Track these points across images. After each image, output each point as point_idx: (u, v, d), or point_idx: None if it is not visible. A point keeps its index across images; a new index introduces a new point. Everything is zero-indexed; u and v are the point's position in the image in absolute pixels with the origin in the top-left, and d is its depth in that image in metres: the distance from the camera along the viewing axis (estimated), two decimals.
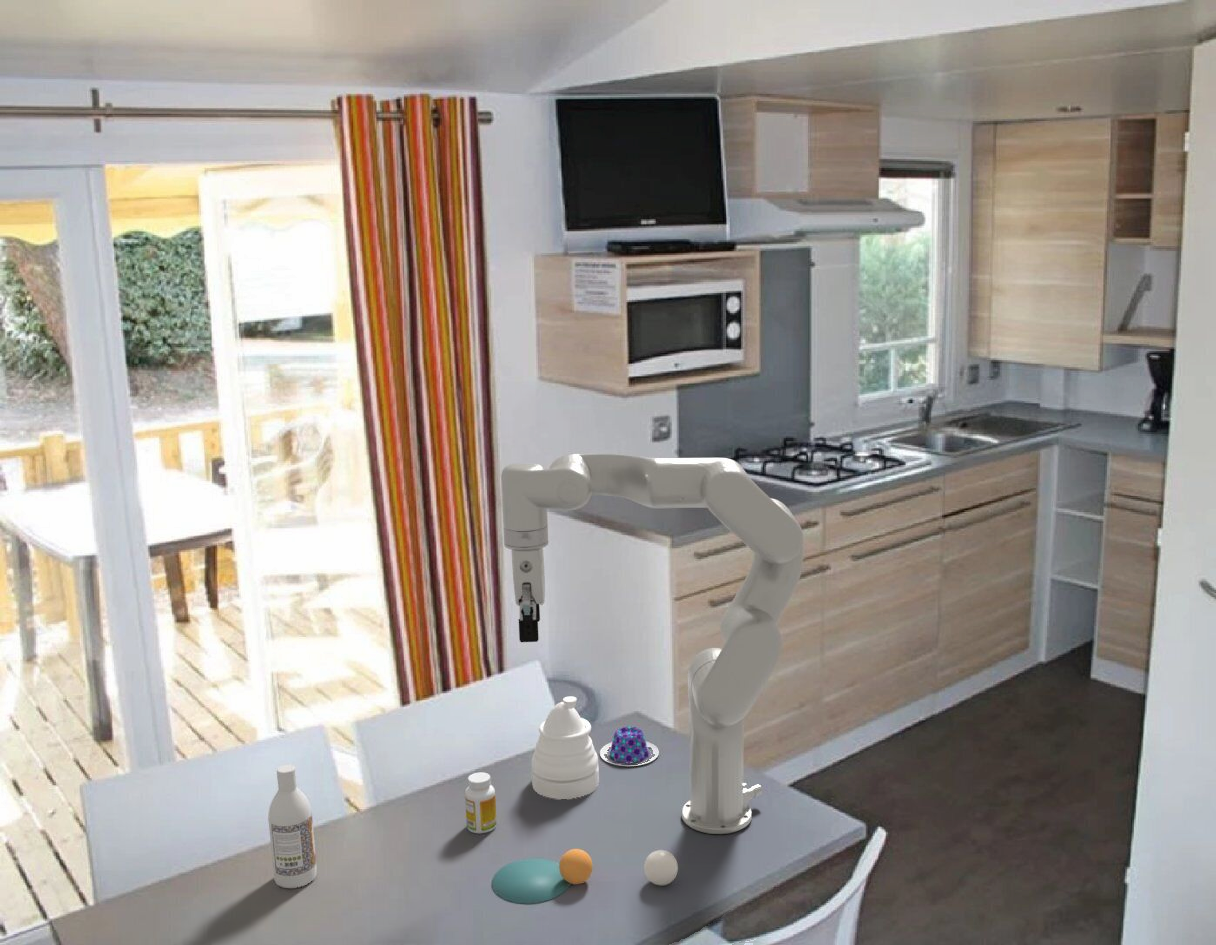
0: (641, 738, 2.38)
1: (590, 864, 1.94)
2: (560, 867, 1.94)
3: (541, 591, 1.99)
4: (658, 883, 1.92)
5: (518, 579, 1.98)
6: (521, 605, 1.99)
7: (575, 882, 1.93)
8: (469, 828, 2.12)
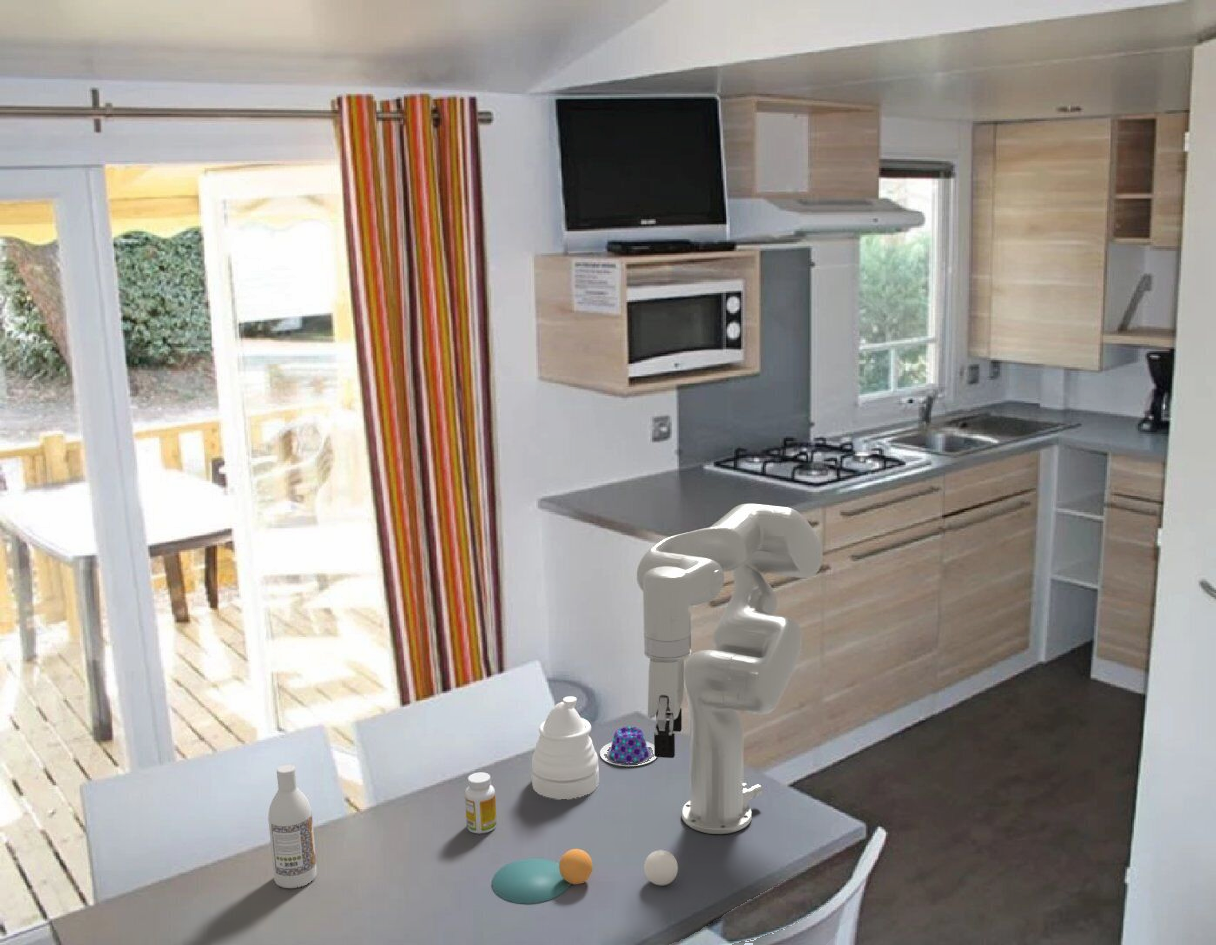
0: (641, 738, 2.38)
1: (590, 864, 1.94)
2: (560, 867, 1.94)
3: None
4: (658, 883, 1.92)
5: None
6: None
7: (575, 882, 1.93)
8: (469, 828, 2.12)
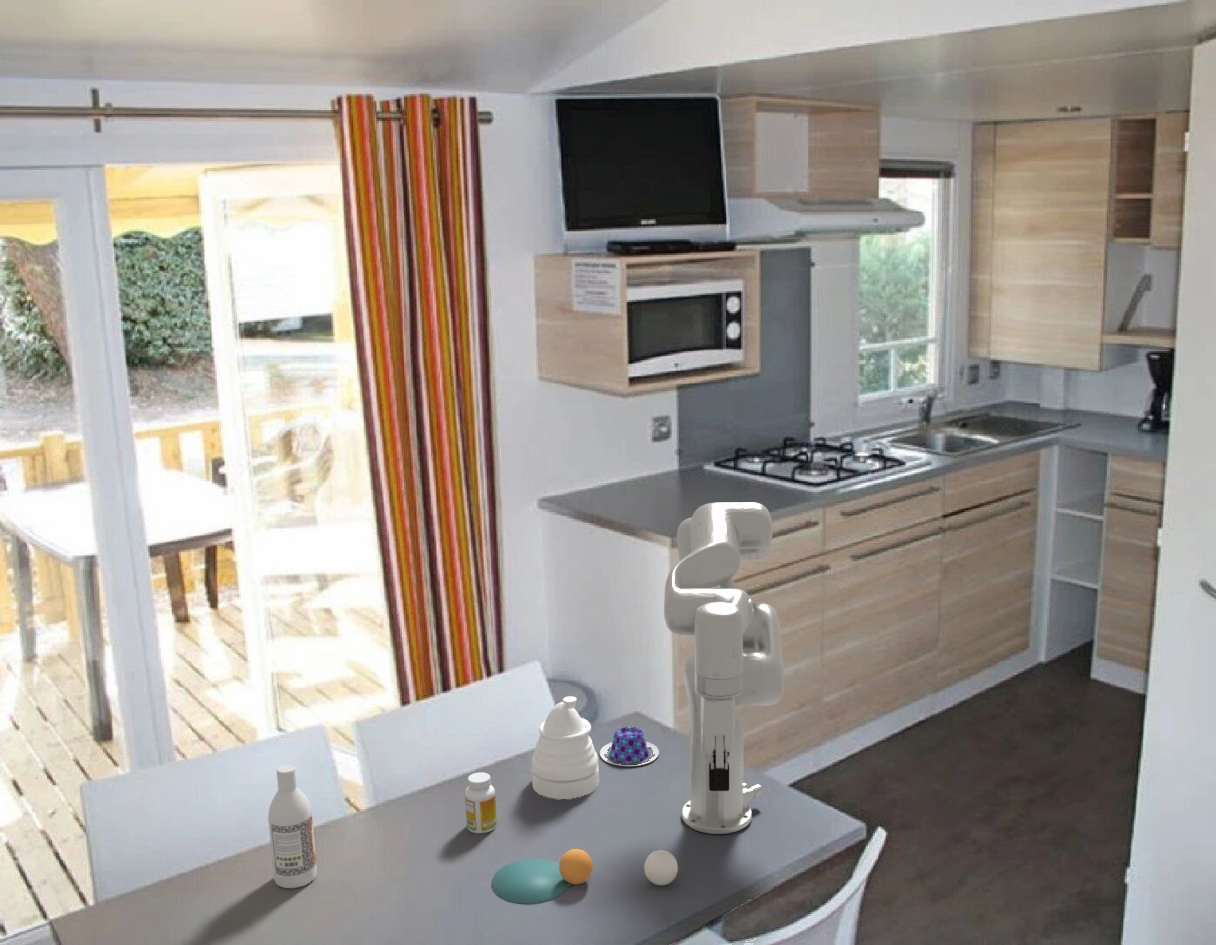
0: (641, 738, 2.38)
1: (590, 864, 1.94)
2: (560, 867, 1.94)
3: None
4: (658, 883, 1.92)
5: None
6: None
7: (575, 882, 1.93)
8: (469, 828, 2.12)
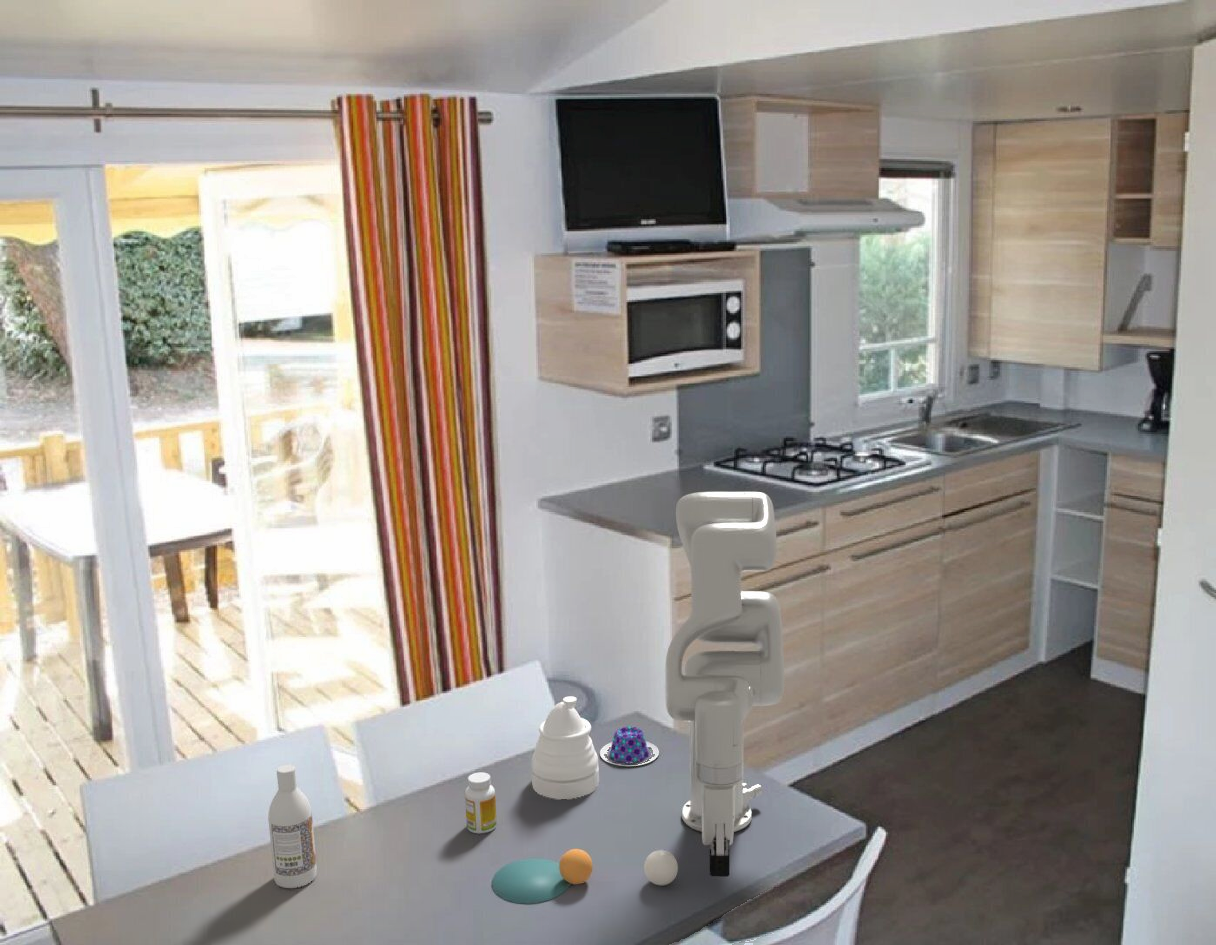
0: (641, 738, 2.38)
1: (590, 864, 1.94)
2: (560, 867, 1.94)
3: None
4: (658, 883, 1.92)
5: None
6: None
7: (575, 882, 1.93)
8: (469, 828, 2.12)
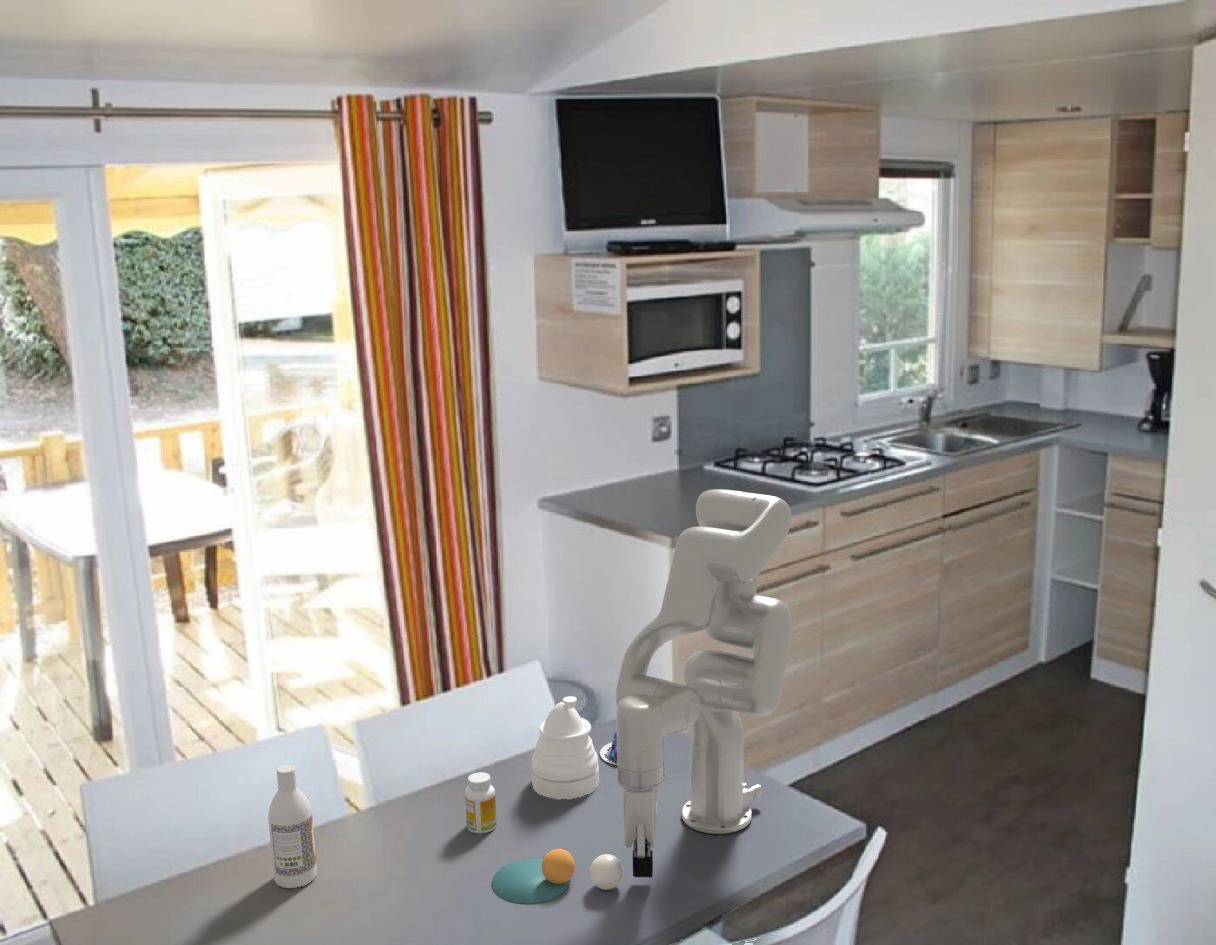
0: None
1: (560, 854, 1.94)
2: (548, 880, 1.94)
3: None
4: (612, 875, 1.90)
5: None
6: None
7: (565, 878, 1.93)
8: (469, 828, 2.12)
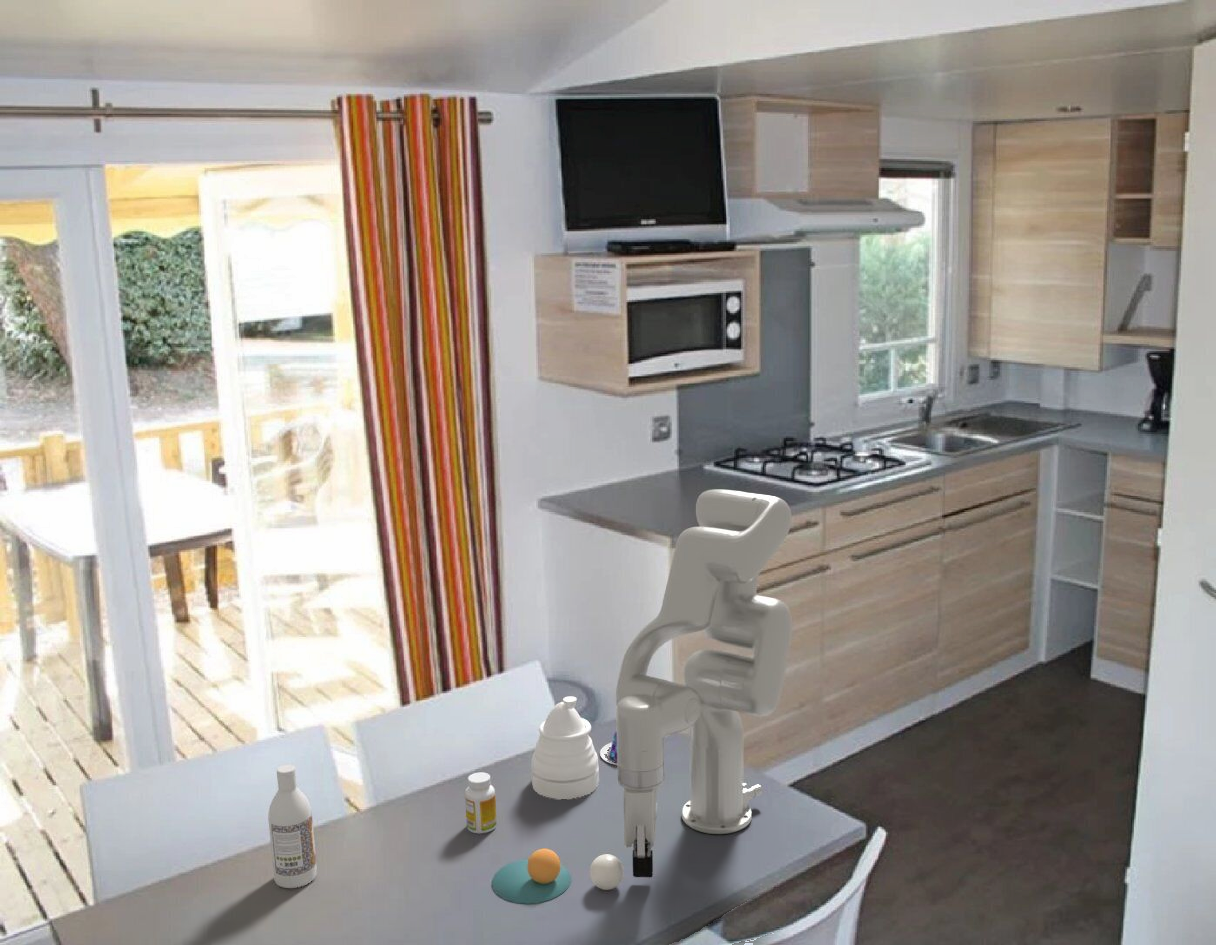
0: None
1: (533, 857, 1.94)
2: None
3: None
4: (612, 876, 1.90)
5: None
6: None
7: (551, 870, 1.93)
8: (469, 828, 2.12)
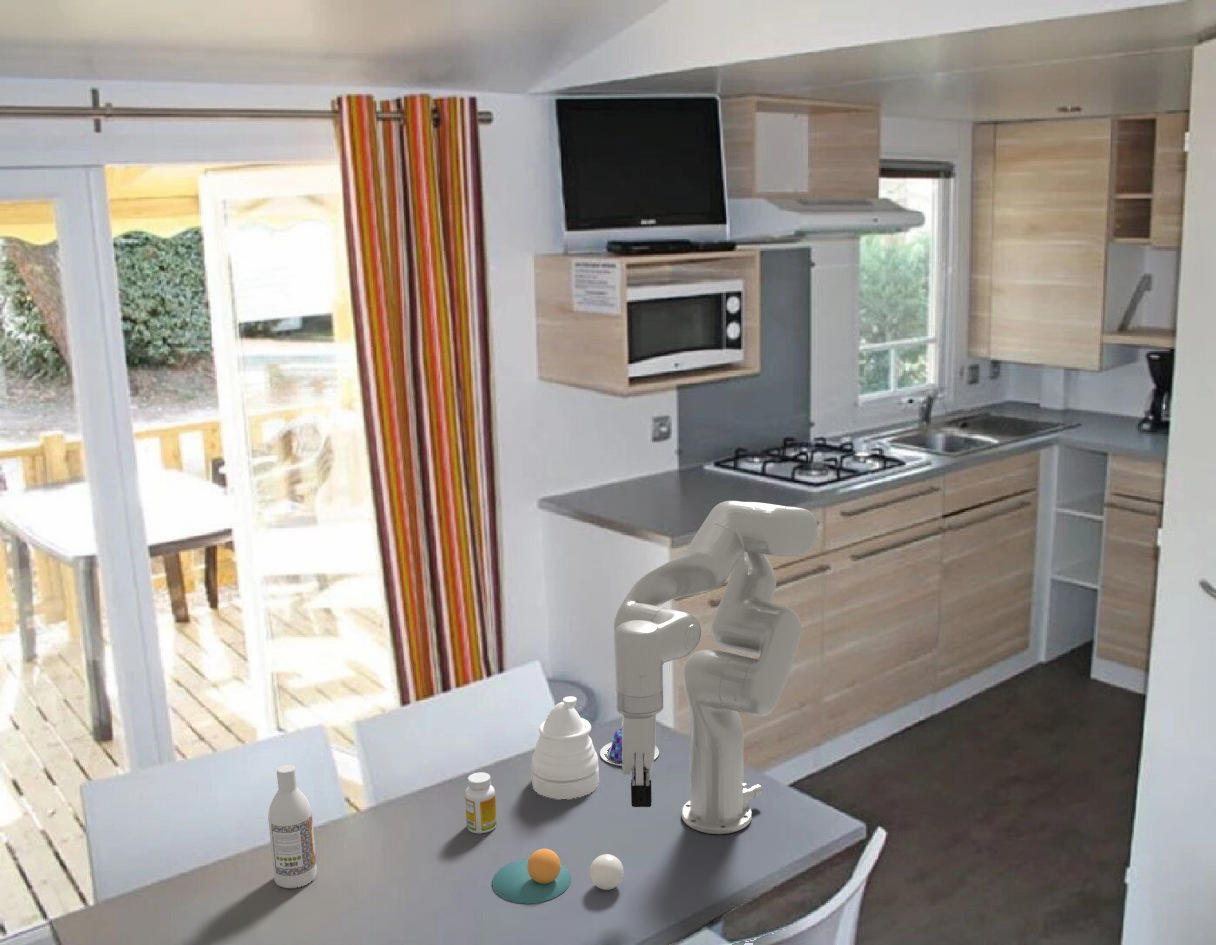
0: None
1: (533, 857, 1.94)
2: None
3: None
4: (612, 876, 1.90)
5: None
6: None
7: (551, 870, 1.93)
8: (469, 828, 2.12)
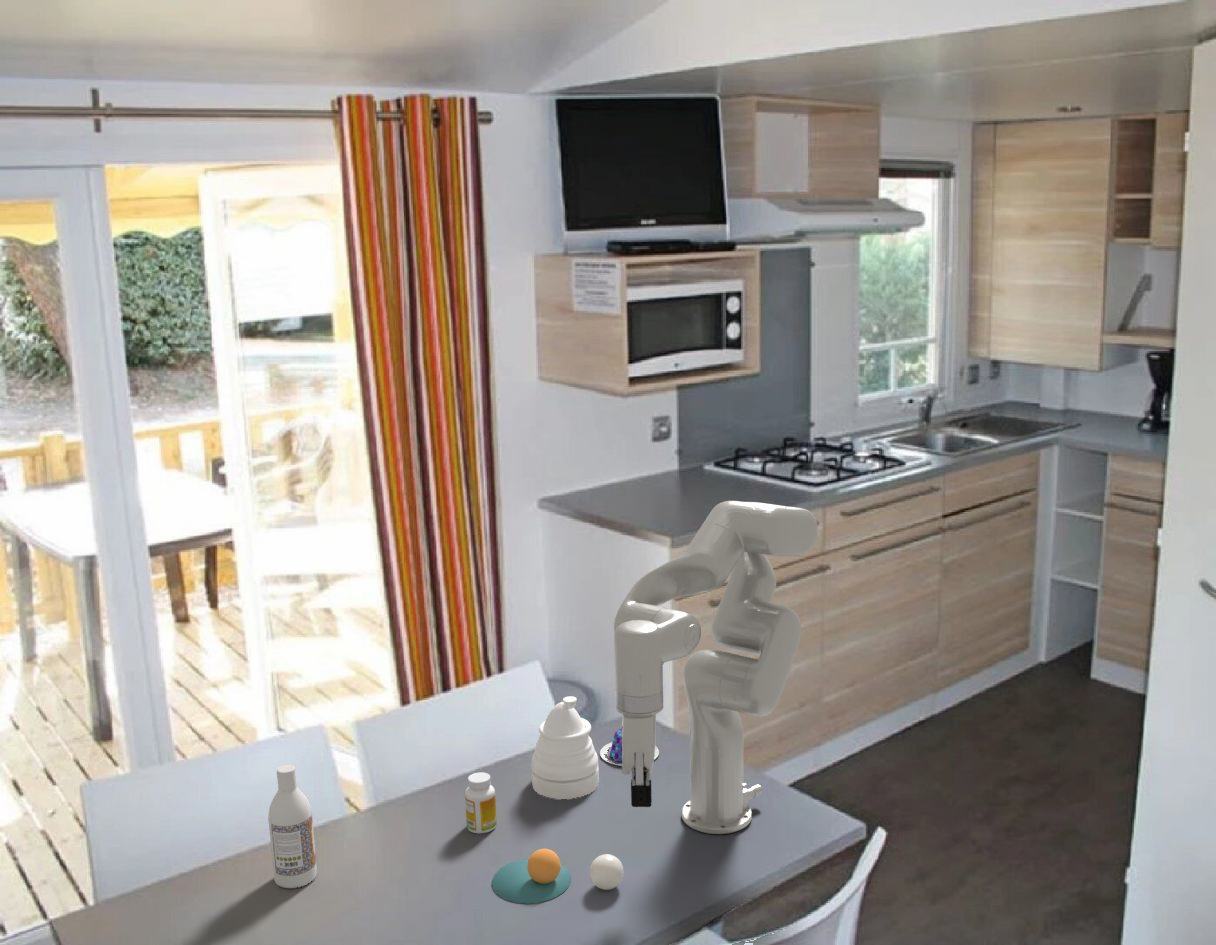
0: None
1: (533, 857, 1.94)
2: None
3: None
4: (612, 876, 1.90)
5: None
6: None
7: (551, 870, 1.93)
8: (469, 828, 2.12)
